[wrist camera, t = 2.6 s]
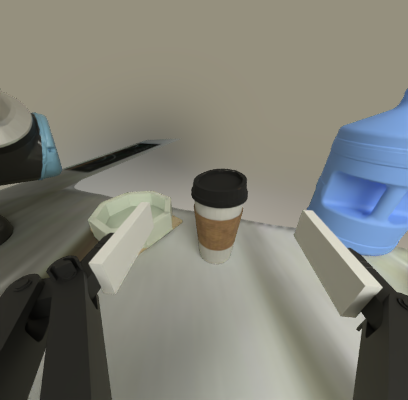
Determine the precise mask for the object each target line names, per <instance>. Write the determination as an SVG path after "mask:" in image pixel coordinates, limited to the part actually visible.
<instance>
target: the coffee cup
mask: <svg viewBox="0 0 408 400" xmlns="http://www.w3.org/2000/svg"><path fill="white" fill-rule="evenodd" d="M191 191H192V193H191V195H192V198H193V199H194V200H195V204H194V211H195V219H196V226H197V234H198V240H199V250H200V255H201V257H202V258H203V259H204V260H205V261H207V262H209V263H212V264H221V263H224V262H226V261H227V260H228V259H229V258H230V256H231V252H232V248H233V244H234V241H235V237H236V234H237V230H238V227H239V223H240V220H241V216H242V212H243V203H244V202H245V201H246V200H247V197H248V191H247V178H246V177H245V175H243V174H242V173H240V172H238V171H236V170H230V169H214V170H209V171H206V172H204V173H201V174H200V175H198V176H197V177H196V178H195V179H194V182H193V187H192V190H191Z"/></svg>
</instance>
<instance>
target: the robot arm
mask: <svg viewBox="0 0 408 400" xmlns="http://www.w3.org/2000/svg"><path fill="white" fill-rule="evenodd" d="M61 172H62V166H61V163H60V159H59V156H58V153H57V149H56V147H55V143H54V140H53V137H52V133H51V130H50V127H49V124H48V121H47V118H46V117H45V116H44V115H42V114H37V113H30V111H29V110H28V108H27V107H26V106H25V105H24V104H23V103H22V102H21V101H19V100H18V99H17V98H15V97H13V96H11V95H9V94H7V93H4V92H2V91H1V89H0V186H1V185H7V184H14V183H21V182H28V181H34V180H43V179H44V178H49V177H54V176H57V175H59V174H60V173H61ZM153 228H154V223H153V218H152V212H151V207H150V202H141V203H140V204H139V205H138V206H137V207H136V209H135V210H134V211H133V212H132V213H131V214H130V216H129V217H128V218H127V219H126V220H125V221H124V223H123V224H122V225H121V226H120V227H119V228H118V229H117V231H116V232H115V233H109V234H107V235H106V236H104V237H103V238H102V239H101V240H100V241H99V242H98V244H96V245H95V246H94V248H93V249H92V250H91V251H90V252H89V253H88V254H87V255H86V256H85V257H84V258H83V259H82V261H81V262H80V261H79V260H78V258H77V257H76V256H66V257H63V258H61V259H59V260H57V261H55V262H54V263H52V264H51V265H50V267H49V268H48V269H47V273H48V275H49V276H50V278H45V279H41V277H40V276H39V275H38V274H29V275H26V276H24V277H21V278H20V279H18V280H16V281H15V282H13V283H12V284H11V285H10V286H9V287H8V288H7V289H6V290H5V292H4V293H3V294H2V296H1V297H0V400H27V399H28V396H29V393H30V390H31V388H32V385H33V382H34V379H35V376H36V374H37V371H38V368H39V365H40V363H41V360H42V357H43V354H44V352H45V349H46V352H45V361H44V369H43V378H42V386H41V394H40V400H112V398H111V390H110V382H109V374H108V367H107V359H106V351H105V343H104V336H103V328H102V320H101V312H100V305H99V297H98V295H97V293H98V291H99V290H100V288H101V289H102V291H103V293H106V294H116V293H117V291H118V289H119V288H120V286H121V284H122V282H123V281H124V279H125V277H126V275H127V274H128V272H129V270H130V268H131V267H132V265H133V263H134V261H135V259H136V258H137V256H138V254H139V252H140V251H141V249H142V247H143V245H144V244H145V242H146V240H147V238H148V237H149V235H150V233H151V231H152V230H153ZM12 232H13V227H12V225H11V224H10V223H9V221H8V220H7V219H6V218H5V217H3V216H2V215H0V245H1V244H2V243H3V242H4V241H6V240H7V239H8V238H9V237H10V235H11V234H12ZM294 237H295V238H296V240H297V242H298V244H299V245H300V247H301V249H302V250H303V252H304V254H305V256H306V257H307V259H308V261H309V263H310V264H311V266H312V268H313V269H314V271H315V273H316V275H317V276H318V278H319V280H320V281H321V283H322V285H323V287H324V288H325V290H326V292H327V293H328V295H329V297H330V299H331V300H332V302H333V304H334V305H335V307H336V309H337V311H338V312H339V314H340V316H343V317H353V318H356V317H357V316H358V314H359V313H360V312H362V314H363V315H364V317H365V318H366V319H365V320H364V321H363V322H362V323H361V324H360V325H359V326H358V327H357V329H356V330H358V331H360V330H361V329H362V334H361V342H360V349H359V357H358V364H357V372H356V380H355V387H354V395H353V400H408V296H407V295H405V294H402V293H398V292H396V291H395V290H394V289H393V288H392V287H391V286H390V285H389V284H388V283H387V282H386V281H385V280H384V278H383V277H382V276H381V275H380V274H379V273H378V272H377V271H376V270H375V269H373V267H372V266H371V265H370V264H369V263H367V261H366V260H365V259H364V258H363V257H362V256H361V255H360V254H359V253H357V252H356V251H355V250H353V249H352V248H346V247H345V245H344V244H343V243H342V242H341V241H340V240H339V239H338V238H337V237H336V236H335V234H334V233H333V232H332V231H331V230H330V229H329V228H328V227H327V226H326V225H325V224H324V222H323V221H322V220H321V219H320V218H319V217H318V216H317V215H316V214H315V213H314V212H313V210H303V211H302V214H301V217H300V219H299V222H298V225H297V228H296V230H295V233H294Z"/></svg>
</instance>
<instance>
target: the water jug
mask: <svg viewBox="0 0 408 400" xmlns="http://www.w3.org/2000/svg"><path fill="white" fill-rule="evenodd" d="M307 210H313V212H314V213H315V214H316V215H317V216H318V217H319V218H320V219H321V220H322V221H323V222H324V224H325V225H326V226H327V227H328V228H329V229H330V230H331V231H332V232H333V233H334V234H335V236H336V237H337V238H338V239H339V240H340V241H341V242H342V243H343V244H344V245H345V247H346V248H352V249H353V250H355V251H356V252H357V253H359V254H362V255H370V256H378V255H384V254H387V253H389V252H391V251H392V250H393V249H394V248H395V247H396V245H397V244H398V242H399V240H400V239H401V238H402V236H403V235H404V234H405V233H406V232H407V230H408V89H407V90H406V92H405V95H404V97H403V99H402V101H401V103H400V104H399V105H398V106H397V107H395V108H394V109H392V110H389V111H386V112H383V113H380V114H377V115H374V116H371V117H368V118H365V119H362V120H359V121H356V122H353V123H350V124H347V125H344V126H342V127H341V128H340V129H339V132H338V134H337V136H336V137H335V140H334V142H333V144H332V148H331V152H330V155H329V157H328V159H327V162H326V164H325V167H324V169H323V172H322V174H321V176H320V178H319V180H318V182H317V185H316V190H315V192H314V195H313V197H312V200H311V202H310V205H309V207H308V208H307Z"/></svg>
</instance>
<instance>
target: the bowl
mask: <svg viewBox="0 0 408 400" xmlns="http://www.w3.org/2000/svg"><path fill="white" fill-rule="evenodd" d="M141 202H150V207H151V212H152V218H153V223H154V228H153V230H152V231H151V233H150V235H149V237H148V238H147V240H146V242H145V244H144V245H143V247H142V249H141V251H140V252H139V254H140V253H142V252H143V251H144V250H146V249H147V248H149V247H150V246H151V245H153V244H154V243H155V242H157V241H158V240H159V239H161V238H162V237H163V236H165V235H166V234H167V233H169V232H170V231H171V230H172V229H174V228H175V227H176V226H178V225H179V224H181V223H182V220H181V219H179V218H177V217H175V216H172V205H171V198H169V197H167V196H164V195H162V194H160V193H157V192H154V191H143V192H127V193H124V194H122V195H119V196H117V197H114V198H112V199H109V200H107V201H104V202H102V203H100V204H99V206H98V207H97V209H96V210H95V211H94V213H93V214H92V215H91V217H90V218H89V219H88V222H89V224H90V227H91V228H90V230H91V232H93V233H94V236H95V238H96V239H98V240H99V241H100V240H101V239H102V238H103V237H104V236H106V235H107V234H109V233H115V232H116V231H117V229H118V228H119V227H120V226H121V225H122V224H123V223H124V221H125V220H126V219H127V218H128V217H129V216H130V214H131V213H132V212H133V211H134V210H135V209H136V207H137V206H138V205H139V204H140V203H141ZM139 254H138V255H139Z"/></svg>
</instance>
